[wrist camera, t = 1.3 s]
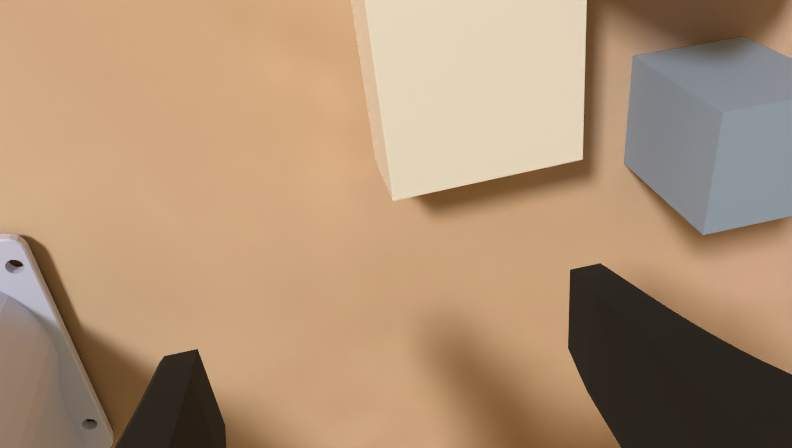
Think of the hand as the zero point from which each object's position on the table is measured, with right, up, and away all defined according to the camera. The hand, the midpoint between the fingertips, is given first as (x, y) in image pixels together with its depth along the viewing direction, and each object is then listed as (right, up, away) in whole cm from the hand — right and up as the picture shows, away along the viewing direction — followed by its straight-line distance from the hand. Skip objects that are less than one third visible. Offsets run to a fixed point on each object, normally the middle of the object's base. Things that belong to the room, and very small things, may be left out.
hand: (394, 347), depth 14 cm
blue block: (+10, +7, +11) cm, 16 cm away
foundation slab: (+2, +8, +9) cm, 12 cm away
